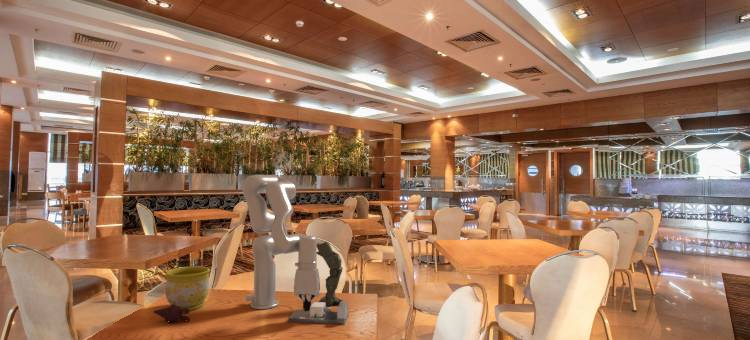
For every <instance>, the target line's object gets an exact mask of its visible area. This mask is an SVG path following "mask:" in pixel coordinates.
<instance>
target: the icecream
mask: <svg viewBox="0 0 750 340" xmlns="http://www.w3.org/2000/svg"><path fill="white" fill-rule="evenodd" d="M170 305H171V304H170ZM170 305H169V306H170ZM169 306H168V307H164V308H161V309H156V310H153V313H154V314H155V315H158V316H160V317H161V318H163V319H165V321H166V323H167V322H168V321H169V323H175V322H174V321H176V322H178V321H179V320H181V321H182V320H187V321H188V320H191V318H190V317H189V316H186V315H187V314H190V312H191V311H190V310H189V309H188V308H184V309H181V307H179V306H176V305H174V304H173V305H171V306H170V307H169ZM177 320H178V321H177ZM188 322H189V321H188Z"/></svg>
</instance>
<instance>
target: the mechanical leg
mask: <svg viewBox="0 0 750 340" xmlns="http://www.w3.org/2000/svg"><path fill="white" fill-rule="evenodd" d="M317 250H318V251H317V255H318V256H320V257H321V258H323V260H324V262H325V264H326V266H327V267H328V269H329V273H328V274H329V276H327V277H326V278H325V290H326V293H325V296H323V297H321V298H320V299H319V300H318V302H326V306H330V307H331V306H332V307H334V306H336V307H338V305H339V304H340V302H341V301H344V299H340V298H338V297H337V295H336V290H337V289H338V285H339V283H340V278H341V276H342V272H343V270H344V267H342V258H341V256H340V254H339V253H338V252H336V251H334V250H333V248H332V246H331V244H330V242H329V241H327V240H325V241H324V242H317Z"/></svg>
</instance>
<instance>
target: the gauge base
mask: <svg viewBox="0 0 750 340" xmlns="http://www.w3.org/2000/svg"><path fill="white" fill-rule="evenodd" d="M349 312H350V311H349V300H343V301H341V302H340V304H339V305H338V306H337V311H335V310H334V311H332V310H331V312H325V313H324V315H323V316H322V317H310V310H309V311H304V309H295V310H294V311H293V312H292V313H291V315H290V316H288V318H287V319H288V320H287V321H288V323H306V324H309V323H310V324H328V325H345V324H346V322H347V320H348V317H349V315H350V314H349Z"/></svg>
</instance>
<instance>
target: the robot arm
mask: <svg viewBox="0 0 750 340" xmlns="http://www.w3.org/2000/svg"><path fill="white" fill-rule="evenodd" d="M263 193H265V195H266V197H267V200H268V203H269V206H270V207H271V211H269V210H268V204H267V201H266V199H264V197H263V196H262V195H261V194H263ZM242 194H243V197H244V200H245V203H246V205H247V209H248V215H249V220H250V225H251V229H252V231H253V232H254V233H255V234H266V235H261V236H258V237H256V238H255V239H254V240H253V241H252V244H251V246H252V247H251V249H252V255H253V265H254V267H253V294H252V295H250V294H246V295H245V301H247V302H248V301H251V302H250V304H249V306H250V308H251V309H256V310H268V309H273V308H275V307H278V305H279V304H280V303H279V299H276V277H277V276H276V272H277V271H276V269H277V268H276V262H275V260H274V258H273V257H272V256H276V255H281V254H283V255H285V254H292V253H297V252H298V256H297V257H298V258H297V260H298V261H297V262H295V263H294V266H295V267H297V268H296V269H295V274H294V283H293V293H294V296H296V297H297V298H298V297H299V298H300V299H301V301H302V308H303V309H302V310H304V311H309V310H310V306H311V305H312V300H313V299H314V298H317V297H320V296H321V293H320V290H321V281H320V272H319V269H318V268H317V266H318V264H317V255H318V254H317V252H318V251H317V250H318V249H317V243H318V241H317V237H316V236H314V235H306V234H305V233H304V234H303V233H294V234H292V233H291V234H288V230H287V226H286V220H285V219H288V218H289V217H291V216H292V214H293V213H294V208H293V206H292V203H291V200H292V199H294V198H295V197H296V195H297V188H296V186H295V184H294V183H293V182H292V181H290V180H288V179H286V178H285V177H281V176H279V175H275V174H252V175H249V176H247V177H246V178H245V179H244V181H243V184H242ZM267 233H271V234H268V235H267Z"/></svg>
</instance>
